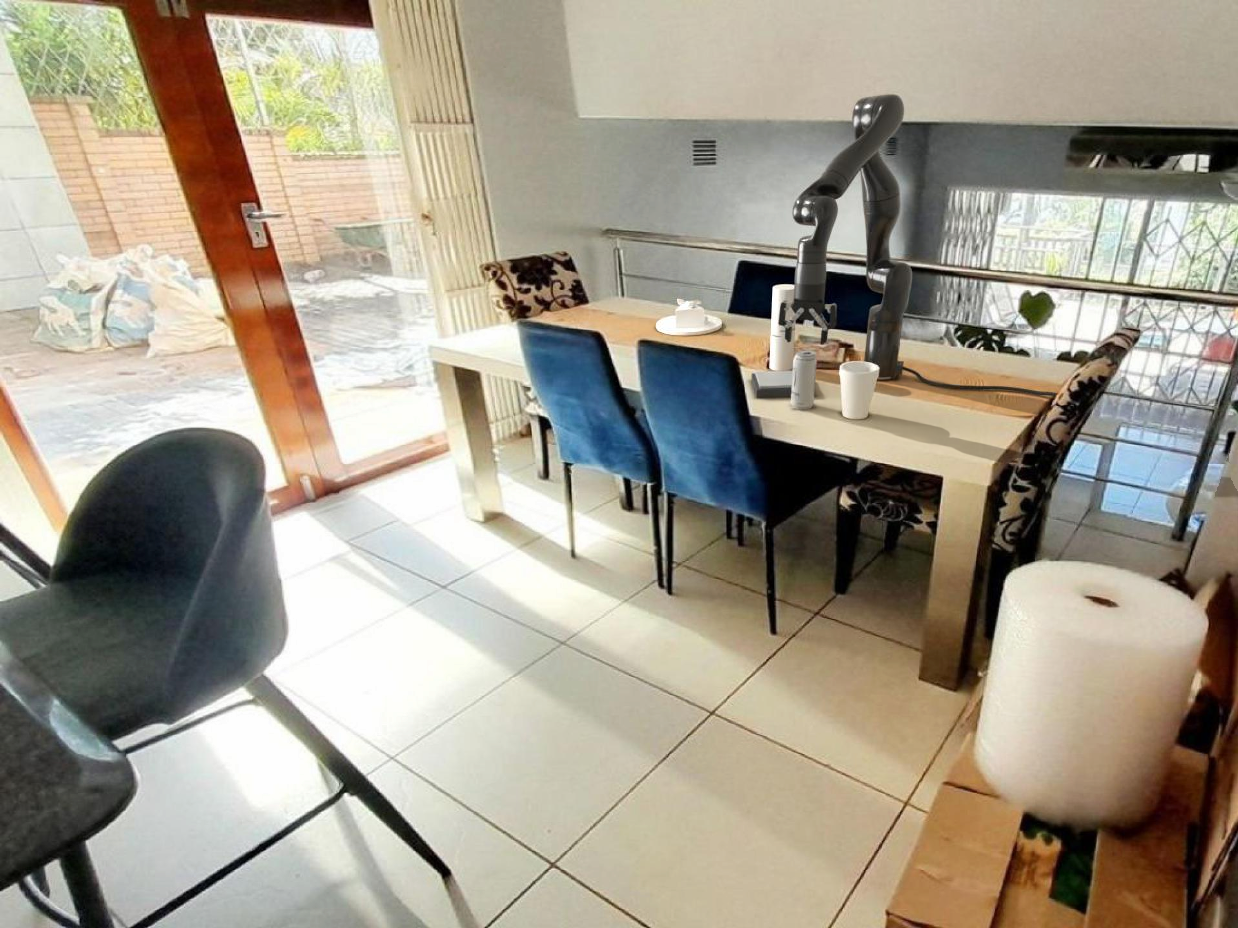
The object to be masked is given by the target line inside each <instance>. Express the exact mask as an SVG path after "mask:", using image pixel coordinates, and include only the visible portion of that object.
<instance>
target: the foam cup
mask: <svg viewBox="0 0 1238 928" xmlns="http://www.w3.org/2000/svg"><path fill="white" fill-rule="evenodd" d="M878 376H879V367H878V365H876V364H873V363H870V362H864V360H862V361H861V360H854V361H853V360H852V361H846V362H843V363H841V364H840V365H839V381H840V383H839V384H840V403H841V414H842V416H843V417H845V418H847V419H850V420H863V419H865V418H867V417H868V415H869V411H870V408H871V404H872V400H873V396H874V393H875V389H876V385H877V381H878V380H877V378H878Z"/></svg>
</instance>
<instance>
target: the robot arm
mask: <svg viewBox="0 0 1238 928" xmlns="http://www.w3.org/2000/svg"><path fill="white" fill-rule="evenodd" d="M904 105H905V104H904V102H903V99H902V98H901V96H899V95H898V94H895V93H889V94H888V93H887V94H880V95H879V94H878V95H872V96H866V97H862V98H860V99H858V100H857V101H856V103H855V104H854V107H853V110H852V115H851V116H852V118H851V119H852V120H851V122H852V132H853V139H854V141H853V142H851V143H850V144H849V145H847V146H846V147H845V148H843V149H842V150H841V151H840V152H839V153H838V154H836V155H835V157H833V158H832V160H831V161H830V162H829V164H827V166H826V168H825V169H824V171H823V172H822V174H821V175H820V177H819V178H818V179H816V180H815V181H814V182H812V183H811V184H810V185H809V186H808V187H807V188H805V189H804V190H803V191H802V192H801V194H799V196H797V198H796V200H795V201H794V203H793V205H792V210H791V211H792V212H791V213H792V214H791V215H792V218H793V221H794V222H795V223H796V224H798V225H800V226H807V227H809V226H811V227H814V230H813V233H812V234H809V235H805V236H802V237H800V238H799V240H798V242H797V253H796V265H795V271H794V284H793V285H794V299H793V302H792V303H790V302H787V301H783V302H782V303H781V304H780V313H779V322H778V324H779V325H780V326H781V325H782V326H784V327H785V340H787V342H790V341H791V337H792V327H791V325H792V324H793V323H794V322H795V321H797V320H800V321H809V322H814V321H815V322H816V323H817V325H819V326H820V328H821V331H820V343H819V344H820V345H821V346H824V344H825V343H827V341H828V336H829V330H834V329H835V328H836V326H837V313H838V311H837V310H838V309H837V308H838V305H837V303H836V302H833V303H831V304H827V303H825V293H826V283H827V281H826V280H827V254H828V245H829V241H830V238H831V235H832V232H833V229H834V226H835V224H836V221H837V218H838V217H837V216H838V214H839V206H838V203H837V200H838V199H840V198H842V197H843V195H844V194H845V193H846V192H847V190H848V189H849V187H850V186H851V184H852V183H853V181H854V180H855V178H856V176H857V175H858V174H859V173H860V183H861V196H862V208H863V209H862V210H863V216H864V227H865V228H864V229H865V242H866V243H865V244H866V258H865V259H866V262H865V265H866V267H865V276H866V283H867V286H868V287H869V289H870V290H871V291H873V292H875V293H879V294H882V300H881V303H880V304H876V305H873V306H871V307H870V309H869V311H868V319H867V320H868V321H867V329H866V339H865V348H864V359H863V361H864V362H870V363H873V364H876V365H878V367H879V376H878V378H877V381H887V380H888V381H889V380H896V377H897V375H900V376H901V375H903V371H905V372H907V373H910V374H913V375H914V376H915V377H916V378H918V380H920V381H921V382H923V383H925V384H928V385H930V386H935V387H942V388H947V389H956V390H997V391H1011V392H1017V393H1019V392H1020V393H1026V394H1031V395H1037V396H1049V397H1055V396H1056V395H1057V394H1059V393H1058V392H1054V391H1040V390H1033V389H1029V388H1023V387H1015V386H1007V385H969V384H968V385H966V384H965V385H962V384H950V383H943V382H936V381H932V380H929V379H928V378H927V379H926V378H925V377H923V376H922V375H921V374H920V373H919V372H917V370H914V369H912V368H909V367H906V366H904V365H905V364H904V363H905V361H904V360H899V356H900V350H901V349H900V347H901V336H902V328H903V320H904V314H905V312H906V311H907V308H908V304H909V301H910V300H909V298H910V292H911V288H912V282H913V271H912V268H911V266H910V265H909V264H908V263H906V262H903V261H898V260H894V259H892V258H891V253H890V240H891V235H892V233H893V231H894V228H895V227H896V225H897V223H898V220H899V218H900V215H901V191H900V184H899V182H898V180H897V178H896V176H895V175H894V173H893V172H892V170H891V169H890V167H889V166H888V164H887V163H886V161H885V160H884V158H883V156H882V153H881V151H880V150H881V148H882V147H883V146H884V145H885V144H886V143H887V142H888V141H889V140H890V139H891V137H893V136H894V134H895V133H896V132H897V131H898V130H899V128H900V126H901V124H902V122H903V121H904V116H905V106H904ZM789 307H791V308H792V310H793V311H794V313H795V314H794V315H793V317H792V318H791V319H790V320H789V321H786V320H785V316H786V311H787V310H788V309H789ZM825 310H826V312H827V313H828V314H829V323H828V322H827V320H826V318H825V317H824V314H823V312H824V311H825ZM820 345H819V346H820Z"/></svg>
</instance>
